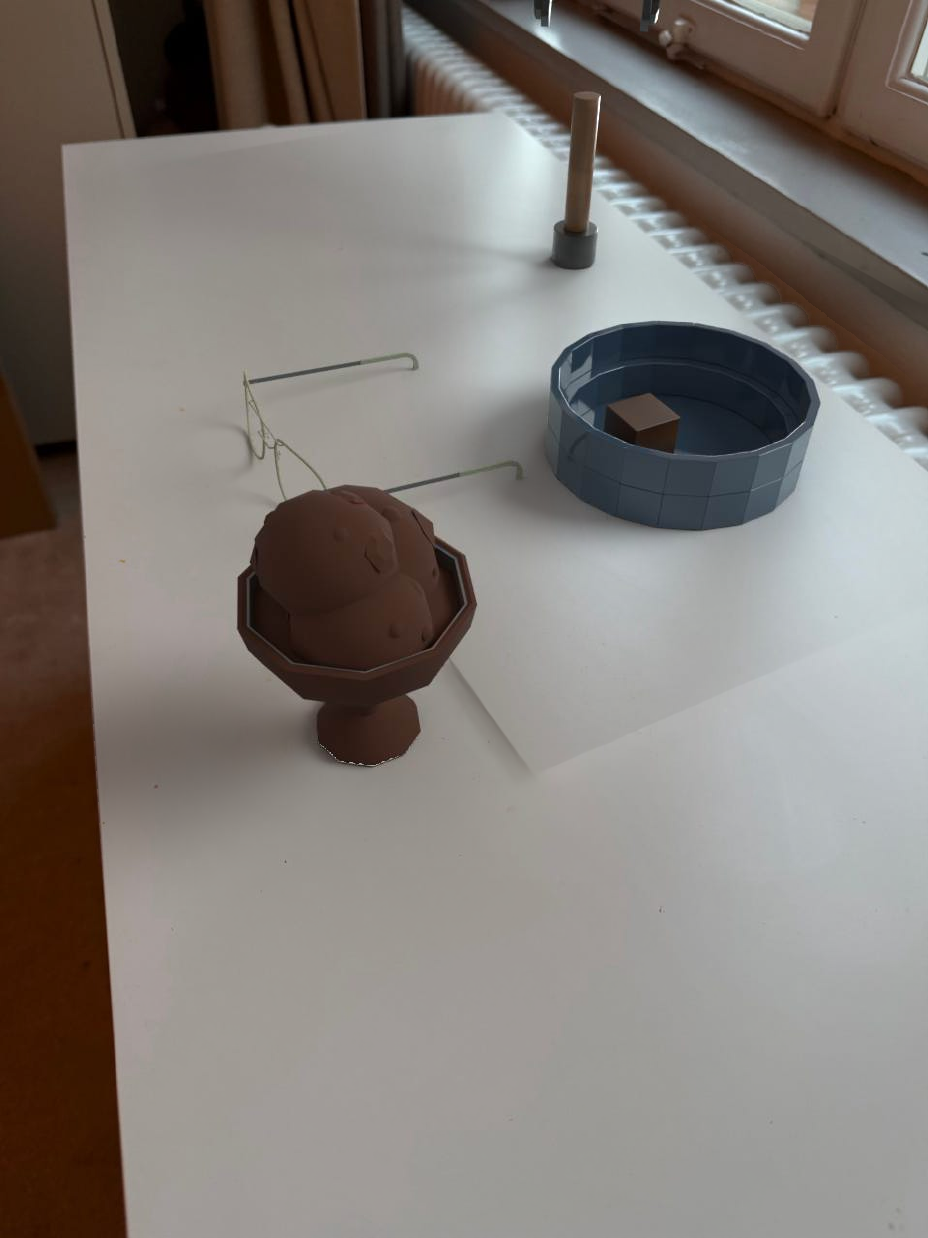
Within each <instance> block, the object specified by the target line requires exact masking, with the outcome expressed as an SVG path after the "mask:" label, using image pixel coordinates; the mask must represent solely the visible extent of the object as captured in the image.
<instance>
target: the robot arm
mask: <svg viewBox="0 0 928 1238" xmlns="http://www.w3.org/2000/svg"><path fill="white" fill-rule="evenodd" d="M552 2H553V0H533V14H534V17H535V20H540V27H541V28H549V27H550V24H551V23H550V22H551V13H552V12H551V11H552ZM660 5H661V0H642V5H641V17H640V27H639V31H640V32H649V28H650V25H656V22H657V21H658V19H659V14H660V13H659V12H660Z"/></svg>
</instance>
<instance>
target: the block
mask: <svg viewBox="0 0 928 1238" xmlns="http://www.w3.org/2000/svg"><path fill="white" fill-rule="evenodd" d="M679 422H680V417H679V416H678V415H677V414H675V413H674V412H673V411H672V410H670V409H669V408H668V407H667V406H665V405H664V404H663V403H662V402H661V401H659V400H658V399H657V398H656V397H654V396H653V395H652V394H651V393H646V394H643V395H640V396H636V397H633V398H629V399H626V400H623V401H619V402H616V403H612V404H609V405H607V407H606V415H605V423H604V433H606V434H608V435H610V436H613V437H615V438H617V439H619V440H621V441H624V442H626V443H628V444H632V445H636V446H640V447H644V448H648V449H653V450H657V451H661V452H665V453H670V454H674V449H675V444H676V439H677V433H678V428H679Z"/></svg>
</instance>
